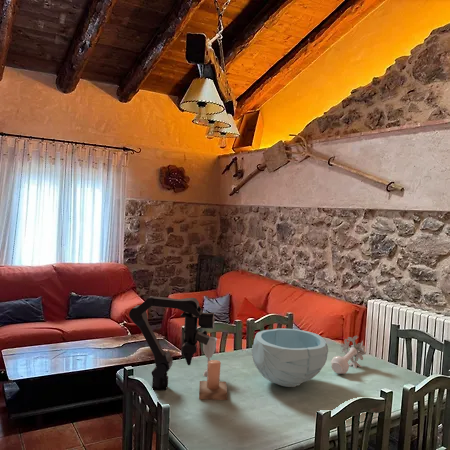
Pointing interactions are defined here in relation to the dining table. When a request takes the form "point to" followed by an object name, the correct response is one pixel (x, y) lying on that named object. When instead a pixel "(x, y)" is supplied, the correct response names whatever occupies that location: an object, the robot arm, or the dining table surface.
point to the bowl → (289, 355)
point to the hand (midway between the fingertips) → (189, 361)
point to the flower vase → (348, 356)
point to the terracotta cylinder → (213, 374)
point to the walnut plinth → (213, 391)
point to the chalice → (209, 351)
